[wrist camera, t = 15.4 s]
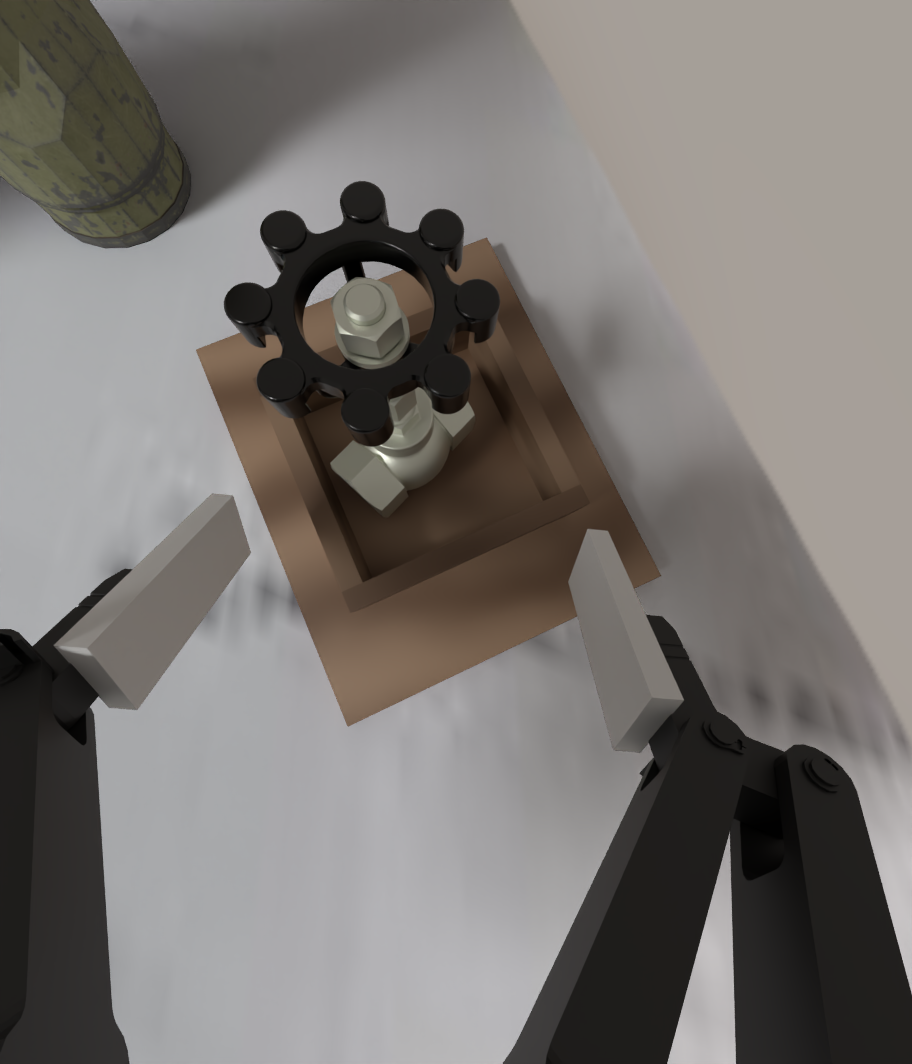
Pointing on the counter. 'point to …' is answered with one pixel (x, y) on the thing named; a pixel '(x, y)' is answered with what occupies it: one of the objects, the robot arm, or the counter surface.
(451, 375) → the valve
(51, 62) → the thermos
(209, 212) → the counter surface
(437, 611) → the dock board
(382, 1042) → the counter surface
